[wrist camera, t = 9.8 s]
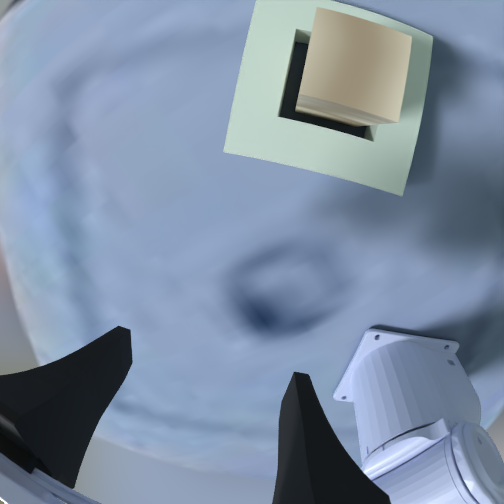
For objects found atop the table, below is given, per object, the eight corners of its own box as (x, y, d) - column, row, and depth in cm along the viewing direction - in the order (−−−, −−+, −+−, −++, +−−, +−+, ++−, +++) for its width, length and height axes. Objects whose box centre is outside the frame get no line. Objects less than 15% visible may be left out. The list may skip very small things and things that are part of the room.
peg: (364, 73, 15) (412, 36, 8) (353, 126, 16) (398, 122, 9) (306, 57, 15) (316, 6, 8) (294, 111, 16) (298, 93, 9)
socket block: (417, 46, 14) (433, 36, 11) (388, 188, 17) (402, 196, 15) (263, 4, 14) (259, -13, 12) (232, 149, 18) (223, 152, 15)
